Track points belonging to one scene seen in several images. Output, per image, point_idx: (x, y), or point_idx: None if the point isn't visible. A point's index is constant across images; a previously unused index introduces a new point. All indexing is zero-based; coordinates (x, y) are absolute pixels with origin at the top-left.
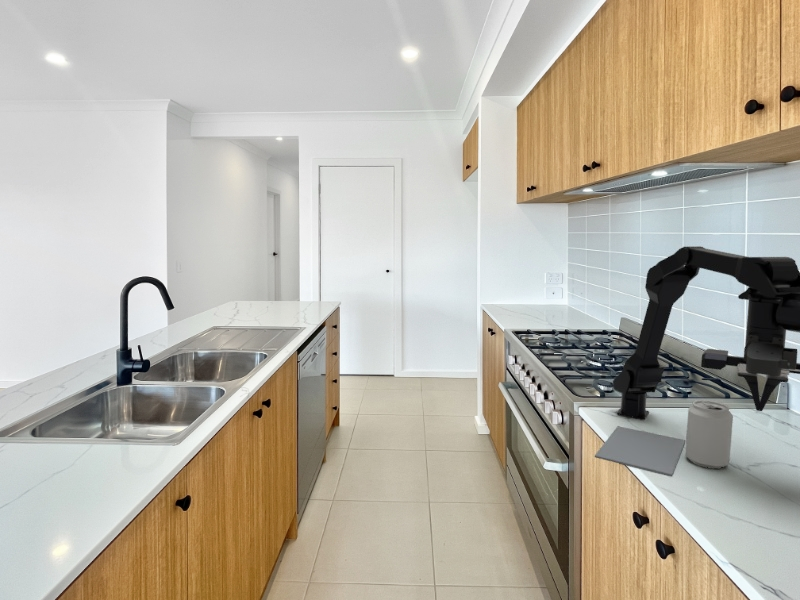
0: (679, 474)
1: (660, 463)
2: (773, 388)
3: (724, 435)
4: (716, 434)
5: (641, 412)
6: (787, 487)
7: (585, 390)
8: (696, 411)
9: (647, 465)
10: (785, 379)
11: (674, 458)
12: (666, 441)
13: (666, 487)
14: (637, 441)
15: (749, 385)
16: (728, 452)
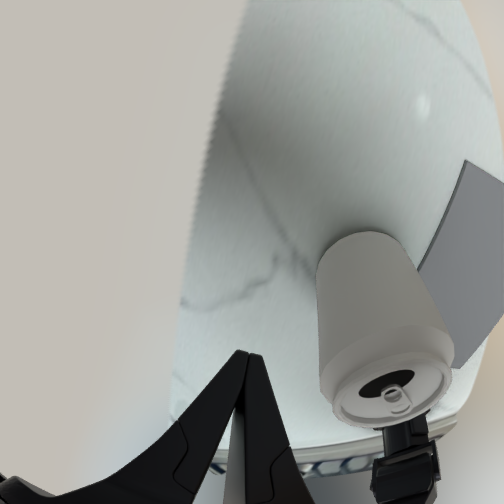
0: (447, 176)
1: (472, 218)
2: (137, 466)
3: (358, 289)
4: (386, 285)
5: None
6: (211, 184)
7: None
8: (449, 356)
9: (497, 199)
10: (14, 501)
11: (433, 256)
12: None
13: (483, 100)
14: (464, 318)
15: (307, 501)
16: (330, 268)
